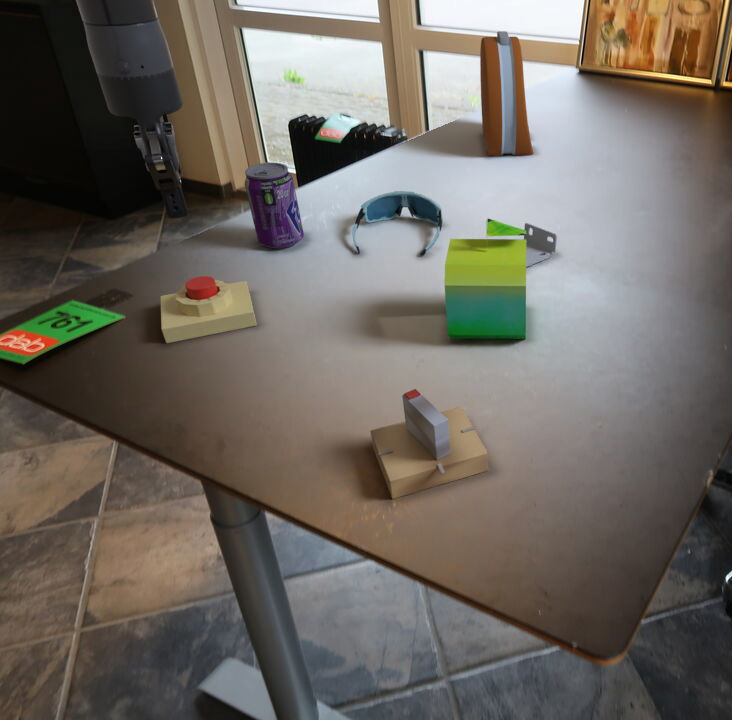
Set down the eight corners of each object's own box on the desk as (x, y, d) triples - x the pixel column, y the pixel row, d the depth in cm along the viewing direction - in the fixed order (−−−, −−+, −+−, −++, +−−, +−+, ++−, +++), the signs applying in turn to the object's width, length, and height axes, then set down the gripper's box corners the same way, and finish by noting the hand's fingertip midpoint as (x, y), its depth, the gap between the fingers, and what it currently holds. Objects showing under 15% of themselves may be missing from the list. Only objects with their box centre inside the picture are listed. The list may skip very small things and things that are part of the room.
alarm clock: (536, 160, 146) (538, 43, 133) (489, 162, 145) (486, 44, 132) (524, 127, 164) (524, 21, 151) (481, 128, 163) (478, 21, 149)
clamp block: (394, 507, 68) (391, 488, 66) (369, 441, 75) (366, 422, 74) (493, 477, 71) (492, 458, 70) (460, 417, 79) (459, 399, 77)
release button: (189, 303, 91) (185, 291, 90) (188, 290, 93) (184, 279, 92) (219, 298, 92) (215, 286, 91) (217, 285, 94) (213, 273, 93)
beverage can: (290, 254, 110) (275, 180, 103) (250, 248, 111) (232, 175, 104) (312, 235, 116) (299, 163, 109) (273, 229, 117) (258, 159, 110)
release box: (166, 343, 89) (156, 317, 87) (165, 309, 96) (156, 284, 94) (257, 325, 93) (250, 299, 91) (249, 294, 100) (243, 269, 97)
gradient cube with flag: (525, 347, 90) (526, 240, 81) (448, 346, 90) (441, 239, 81) (525, 303, 99) (526, 203, 90) (455, 303, 99) (449, 202, 90)
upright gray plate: (450, 453, 70) (447, 417, 67) (437, 460, 69) (433, 423, 67) (419, 422, 74) (415, 387, 71) (406, 428, 73) (401, 393, 70)
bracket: (482, 262, 109) (482, 242, 107) (525, 241, 115) (525, 222, 113) (514, 276, 105) (514, 256, 103) (556, 254, 112) (557, 234, 110)
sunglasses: (448, 217, 122) (446, 191, 119) (436, 267, 111) (433, 240, 108) (367, 214, 122) (362, 188, 119) (347, 264, 111) (341, 237, 108)
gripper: (174, 77, 72) (215, 232, 82) (171, 50, 82) (208, 191, 92) (91, 83, 70) (144, 242, 80) (98, 55, 80) (144, 200, 90)
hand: (178, 215), depth 86 cm, fingers closed
